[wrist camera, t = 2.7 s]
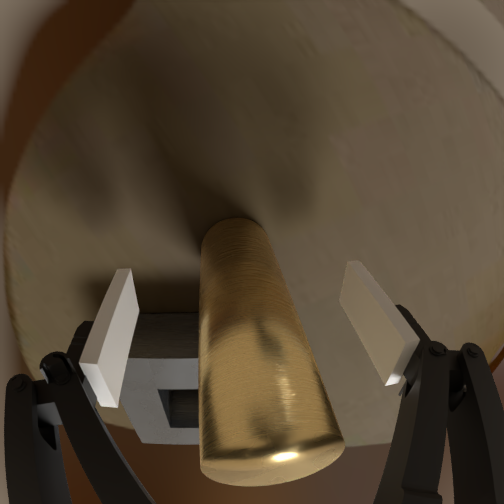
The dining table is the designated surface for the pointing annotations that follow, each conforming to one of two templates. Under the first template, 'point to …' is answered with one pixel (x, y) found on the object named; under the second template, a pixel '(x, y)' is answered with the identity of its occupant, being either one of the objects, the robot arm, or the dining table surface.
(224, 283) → the brass cylinder rod
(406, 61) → the dining table surface
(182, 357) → the block
